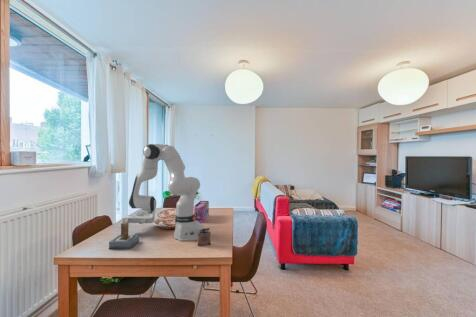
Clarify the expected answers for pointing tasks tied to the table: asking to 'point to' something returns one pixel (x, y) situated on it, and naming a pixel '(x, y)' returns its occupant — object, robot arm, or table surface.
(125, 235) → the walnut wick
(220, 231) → the table surface
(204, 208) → the gum box
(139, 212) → the robot arm
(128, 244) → the grey flat square block
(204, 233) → the lighter
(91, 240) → the table surface
